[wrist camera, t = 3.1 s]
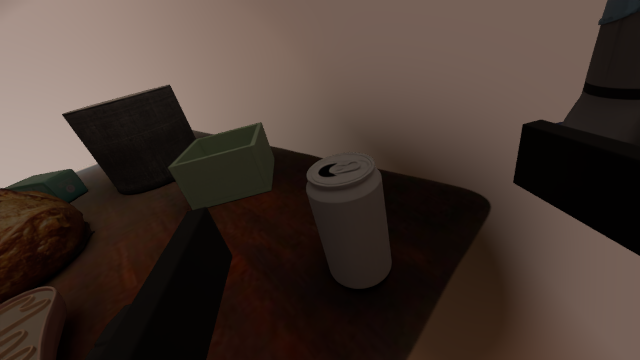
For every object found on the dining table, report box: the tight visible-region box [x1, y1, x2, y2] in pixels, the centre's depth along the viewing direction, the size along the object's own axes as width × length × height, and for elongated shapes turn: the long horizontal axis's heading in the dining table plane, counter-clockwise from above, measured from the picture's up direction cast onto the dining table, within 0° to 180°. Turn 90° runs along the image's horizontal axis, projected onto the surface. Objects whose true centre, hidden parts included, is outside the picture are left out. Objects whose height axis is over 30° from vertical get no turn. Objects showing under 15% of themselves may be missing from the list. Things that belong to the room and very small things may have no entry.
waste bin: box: [168, 122, 274, 210], centre depth 50 cm, size 15×15×9 cm
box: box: [5, 169, 88, 203], centre depth 66 cm, size 7×14×8 cm, turn 85°
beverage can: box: [306, 153, 392, 289], centre depth 24 cm, size 6×6×12 cm
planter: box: [62, 85, 196, 194], centre depth 64 cm, size 22×22×20 cm
